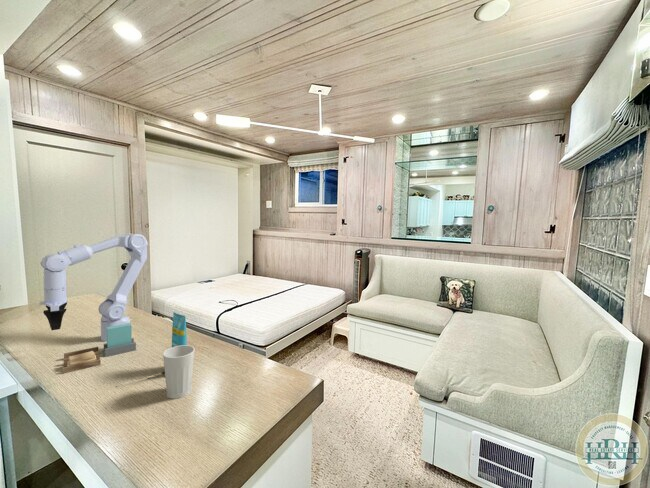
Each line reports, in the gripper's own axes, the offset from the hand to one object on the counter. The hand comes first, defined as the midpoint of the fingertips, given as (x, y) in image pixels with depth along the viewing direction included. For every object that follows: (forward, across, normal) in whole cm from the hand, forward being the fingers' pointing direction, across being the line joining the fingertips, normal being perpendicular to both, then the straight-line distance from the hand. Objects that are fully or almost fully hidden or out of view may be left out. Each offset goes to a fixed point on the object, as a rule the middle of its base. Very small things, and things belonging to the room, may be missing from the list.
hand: (56, 326), depth 98 cm
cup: (+11, +50, +27) cm, 58 cm away
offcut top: (+8, +17, +6) cm, 20 cm away
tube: (+11, +38, +30) cm, 50 cm away
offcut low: (+9, +17, +6) cm, 20 cm away
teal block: (+9, +11, +17) cm, 22 cm away
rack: (+10, +14, +6) cm, 18 cm away
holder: (+10, +11, +17) cm, 23 cm away
